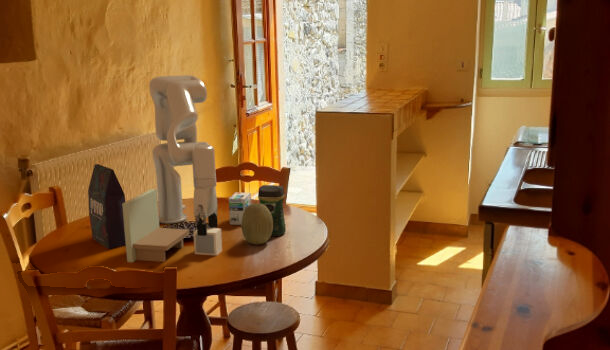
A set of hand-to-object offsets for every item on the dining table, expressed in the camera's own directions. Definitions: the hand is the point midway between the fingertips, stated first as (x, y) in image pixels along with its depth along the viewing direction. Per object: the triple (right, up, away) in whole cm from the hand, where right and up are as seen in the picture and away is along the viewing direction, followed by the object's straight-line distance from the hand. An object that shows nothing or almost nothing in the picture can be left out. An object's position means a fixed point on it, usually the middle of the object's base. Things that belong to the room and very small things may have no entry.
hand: (207, 231), depth 204 cm
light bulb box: (+7, 0, +38) cm, 38 cm away
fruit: (+16, -6, +10) cm, 20 cm away
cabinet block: (0, -8, +2) cm, 8 cm away
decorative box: (-38, -5, +15) cm, 41 cm away
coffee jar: (+21, -3, +21) cm, 30 cm away
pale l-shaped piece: (-17, -8, +2) cm, 18 cm away
